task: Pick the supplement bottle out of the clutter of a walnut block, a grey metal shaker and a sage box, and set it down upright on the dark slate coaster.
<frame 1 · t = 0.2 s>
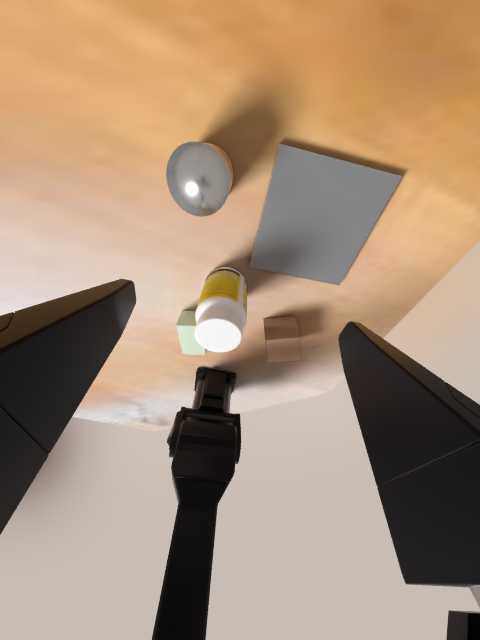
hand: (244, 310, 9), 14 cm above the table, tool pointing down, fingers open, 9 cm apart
sage box: (196, 325, 28), on the table
walnut block: (279, 328, 28), on the table
supplement bottle: (226, 284, 24), on the table
metal shaker: (209, 174, 17), on the table
coaster: (313, 226, 19), on the table
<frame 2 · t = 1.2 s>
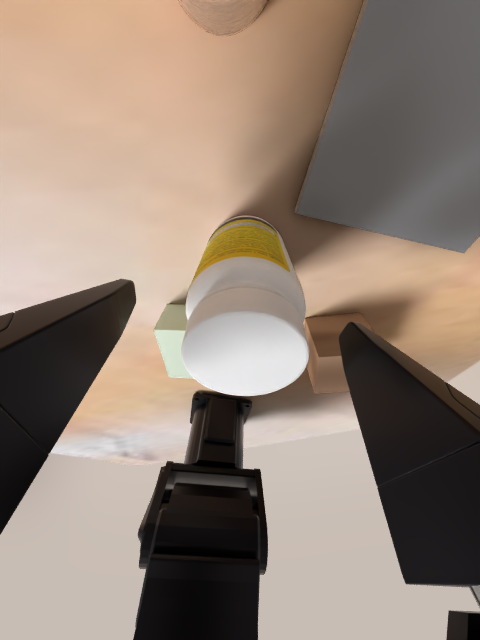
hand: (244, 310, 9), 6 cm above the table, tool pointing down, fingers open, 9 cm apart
sage box: (191, 328, 17), on the table
walnut block: (328, 334, 17), on the table
supplement bottle: (246, 254, 13), on the table
coaster: (451, 108, 9), on the table
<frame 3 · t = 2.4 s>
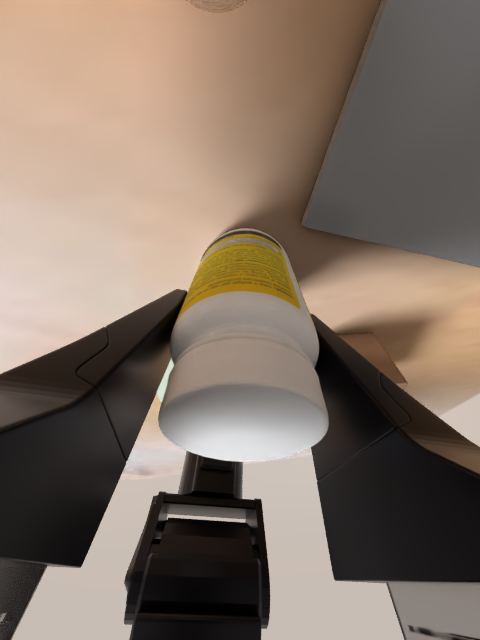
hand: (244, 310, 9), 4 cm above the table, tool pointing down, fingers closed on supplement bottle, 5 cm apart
walnut block: (336, 354, 15), on the table
supplement bottle: (245, 270, 12), on the table, touching gripper
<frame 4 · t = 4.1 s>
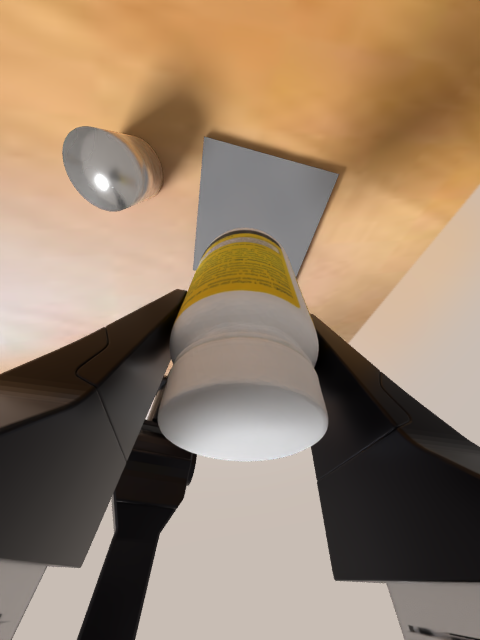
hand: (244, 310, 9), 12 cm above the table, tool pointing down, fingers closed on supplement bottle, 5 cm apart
supplement bottle: (245, 270, 12), point 9 cm above the table, touching gripper
metal shaker: (136, 169, 16), on the table
coaster: (255, 226, 18), on the table
when the fingers open (5 cm above the table, at t = 6.0 s): supplement bottle stays where it is, resting on coaster.
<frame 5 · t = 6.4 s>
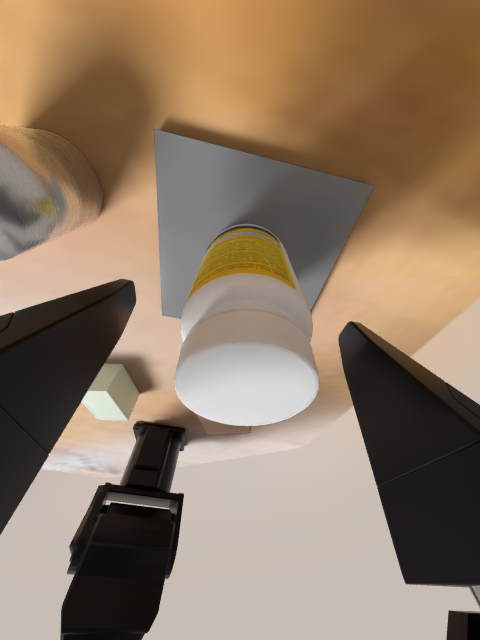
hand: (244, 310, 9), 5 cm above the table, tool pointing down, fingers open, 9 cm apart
sage box: (117, 378, 21), on the table
walnut block: (228, 383, 21), on the table
supplement bottle: (246, 264, 12), resting on coaster
metal shaker: (60, 182, 11), on the table
coaster: (246, 260, 13), on the table
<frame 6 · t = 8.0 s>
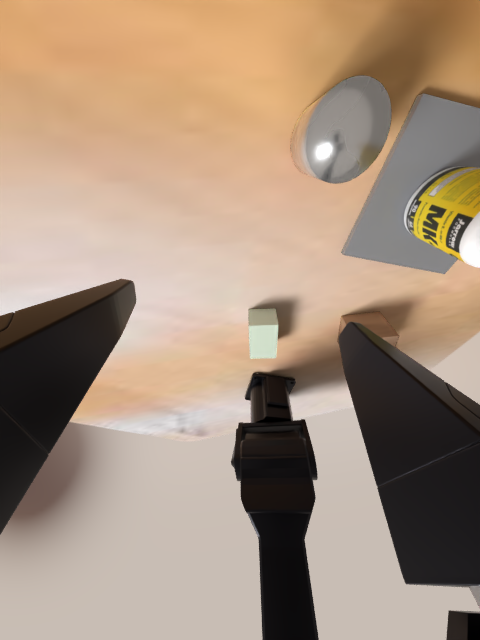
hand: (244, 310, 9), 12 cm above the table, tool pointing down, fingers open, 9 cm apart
sage box: (261, 325, 25), on the table
walnut block: (356, 326, 25), on the table
supplement bottle: (434, 204, 16), resting on coaster
metal shaker: (319, 140, 14), on the table
coaster: (431, 202, 16), on the table
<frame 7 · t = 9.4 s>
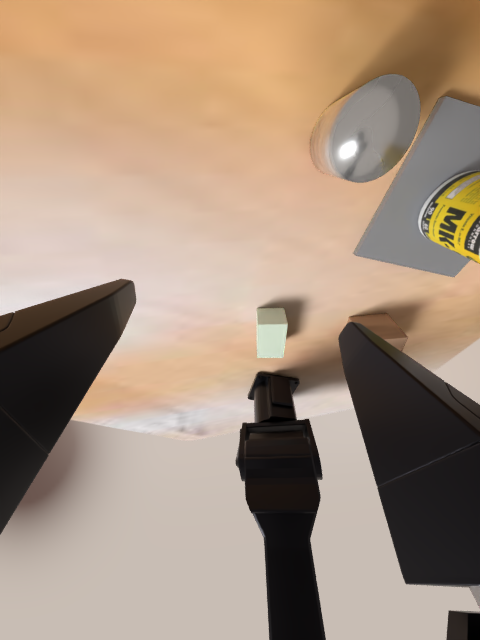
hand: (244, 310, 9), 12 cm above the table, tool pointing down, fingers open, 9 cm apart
sage box: (269, 324, 25), on the table
walnut block: (363, 328, 25), on the table
supplement bottle: (448, 207, 16), resting on coaster
metal shaker: (339, 139, 14), on the table
coaster: (445, 205, 17), on the table
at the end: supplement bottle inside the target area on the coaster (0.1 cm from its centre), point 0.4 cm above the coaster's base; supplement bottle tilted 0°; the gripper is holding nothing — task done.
